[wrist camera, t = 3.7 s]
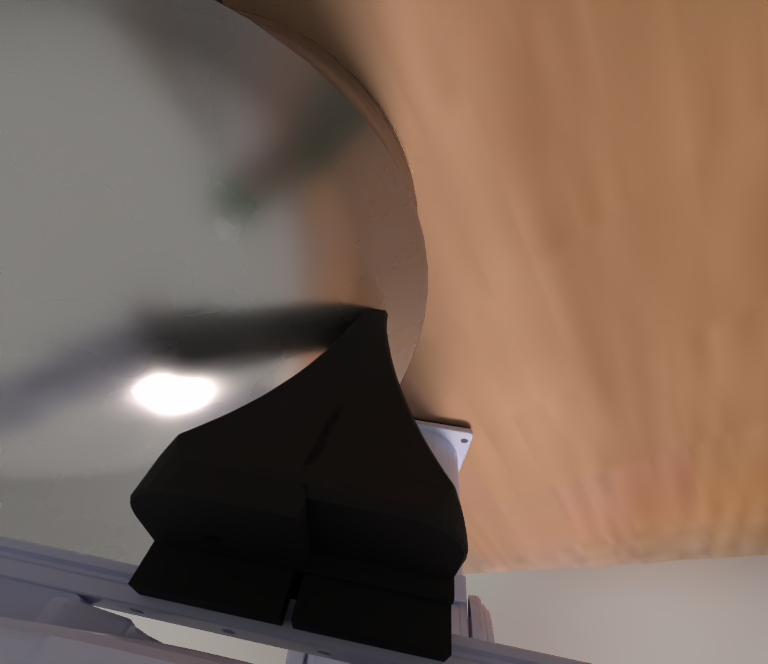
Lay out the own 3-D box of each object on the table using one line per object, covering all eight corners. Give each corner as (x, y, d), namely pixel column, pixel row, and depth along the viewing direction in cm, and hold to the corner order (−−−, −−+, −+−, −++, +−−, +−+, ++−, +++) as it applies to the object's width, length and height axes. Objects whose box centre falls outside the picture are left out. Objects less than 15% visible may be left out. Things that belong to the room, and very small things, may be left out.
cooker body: (398, 363, 22) (389, 427, 18) (158, 326, 23) (99, 381, 19) (470, -116, 10) (489, -230, 6) (-36, -157, 11) (-301, -279, 7)
